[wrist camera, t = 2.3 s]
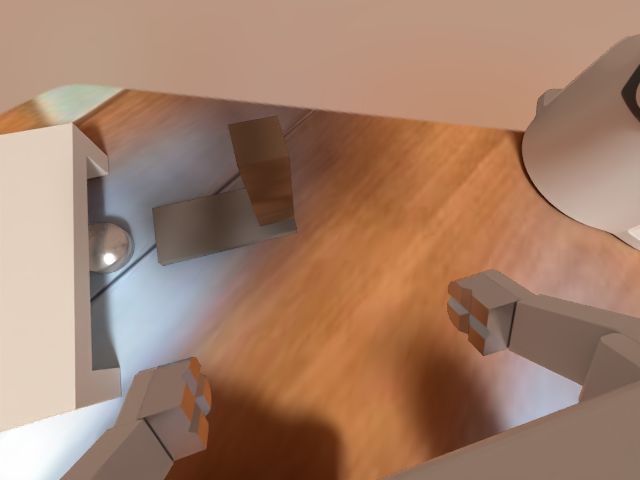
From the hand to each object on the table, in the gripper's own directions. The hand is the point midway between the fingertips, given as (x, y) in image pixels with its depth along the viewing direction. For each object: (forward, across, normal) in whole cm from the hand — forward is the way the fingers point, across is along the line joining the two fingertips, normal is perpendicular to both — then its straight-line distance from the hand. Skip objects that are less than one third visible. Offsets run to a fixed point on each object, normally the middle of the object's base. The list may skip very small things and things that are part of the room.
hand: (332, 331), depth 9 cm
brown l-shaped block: (+19, +5, +2) cm, 19 cm away
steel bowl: (+19, +15, +2) cm, 24 cm away
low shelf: (+18, +18, +3) cm, 25 cm away
